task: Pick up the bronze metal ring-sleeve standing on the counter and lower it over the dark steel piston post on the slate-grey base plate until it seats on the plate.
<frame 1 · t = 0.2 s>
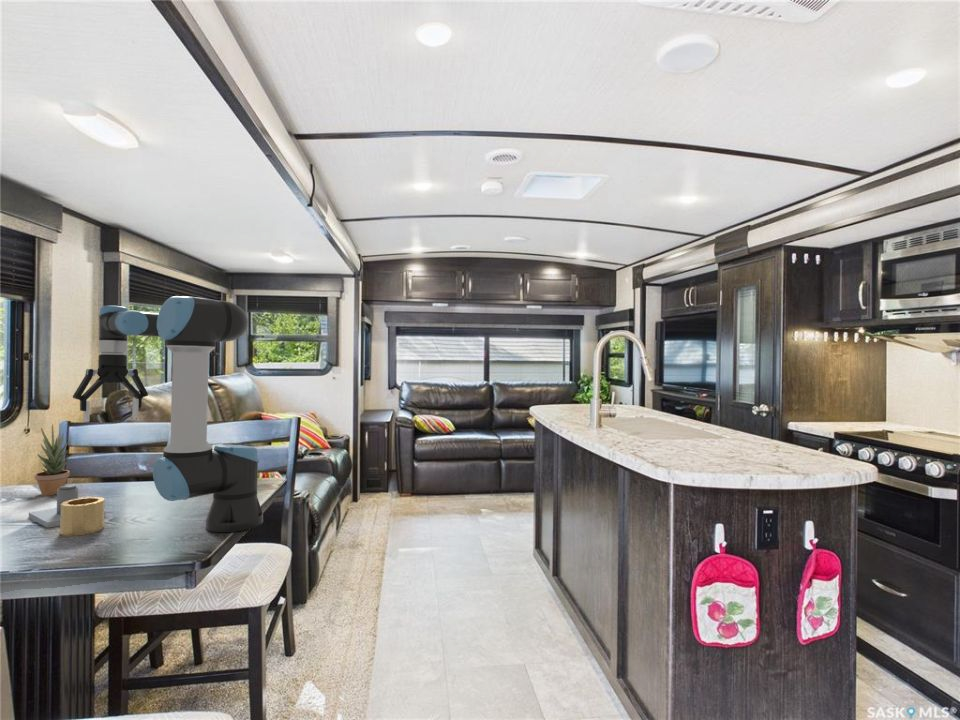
hand: (111, 419, 168), 28 cm above the table, fingers open, 13 cm apart
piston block: (67, 516, 156), on the table
bronze sleeve: (82, 530, 144), on the table
potted plant: (52, 493, 183), on the table
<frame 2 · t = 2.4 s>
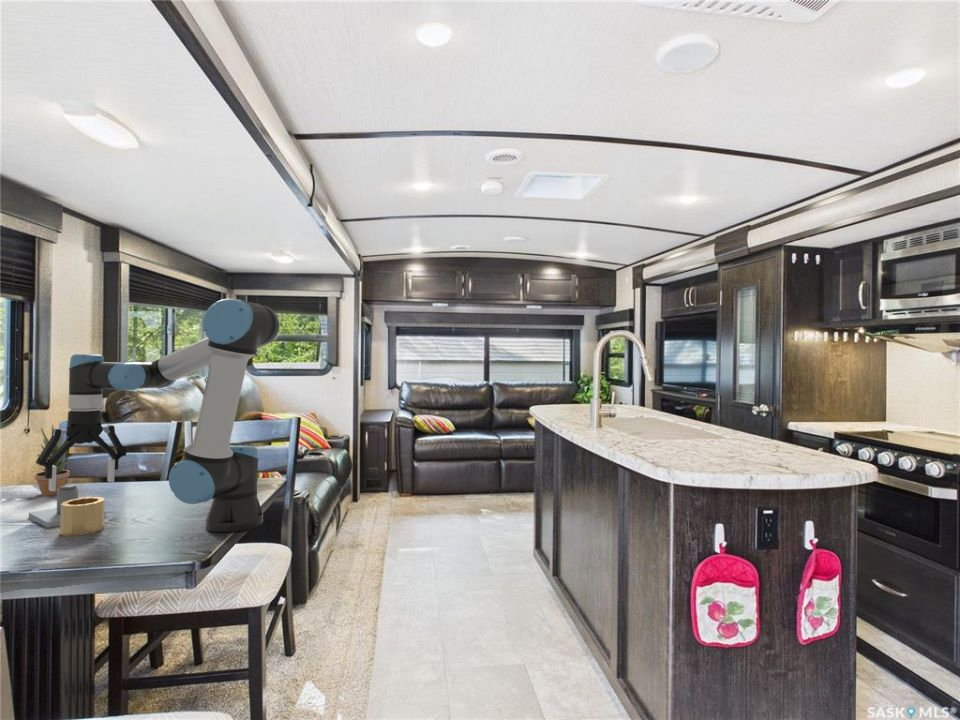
hand: (82, 486, 144), 12 cm above the table, fingers open, 13 cm apart
nothing on the table moved.
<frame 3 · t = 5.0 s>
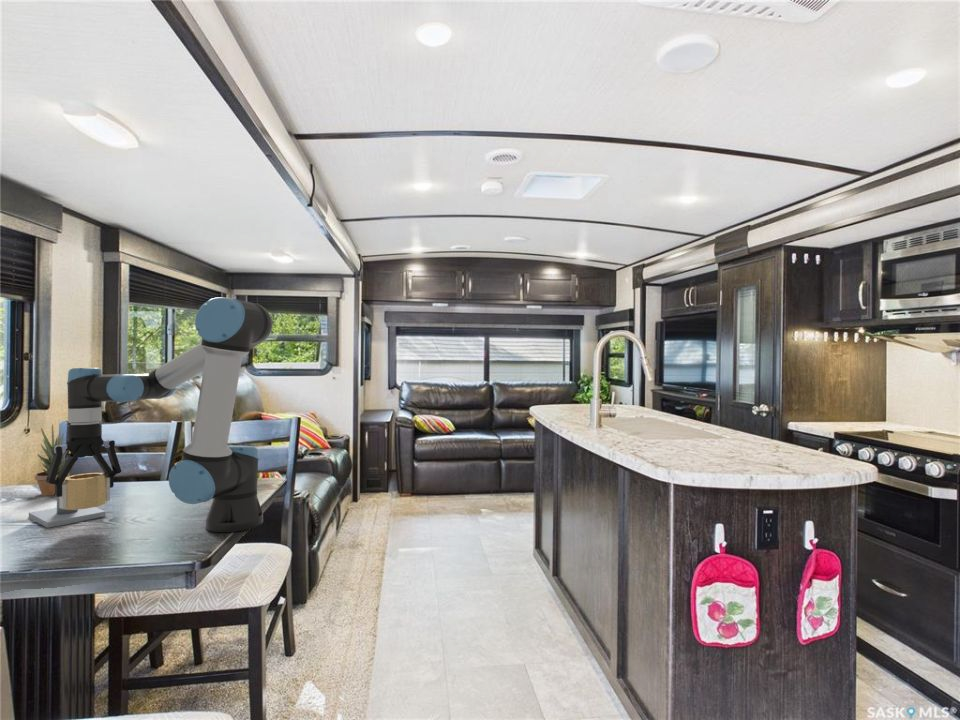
hand: (85, 503, 144), 7 cm above the table, fingers closed on bronze sleeve, 9 cm apart
bronze sleeve: (85, 505, 144), point 7 cm above the table, touching gripper
everything else where it was.
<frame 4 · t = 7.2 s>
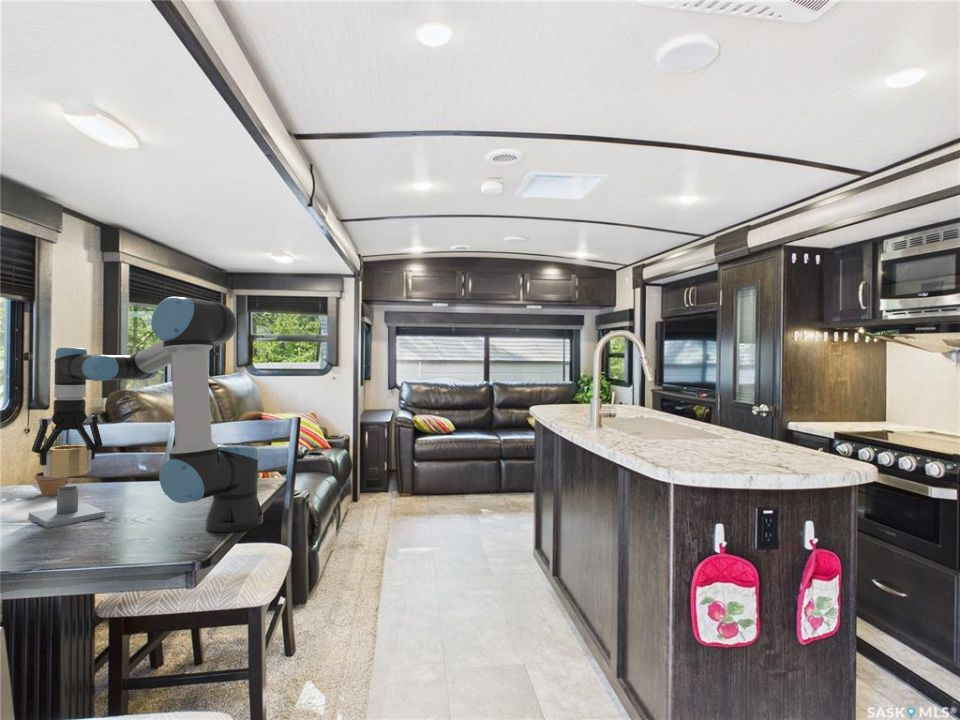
hand: (67, 473, 156), 13 cm above the table, fingers closed on bronze sleeve, 9 cm apart
bronze sleeve: (67, 474, 156), point 13 cm above the table, touching gripper
everything else where it was.
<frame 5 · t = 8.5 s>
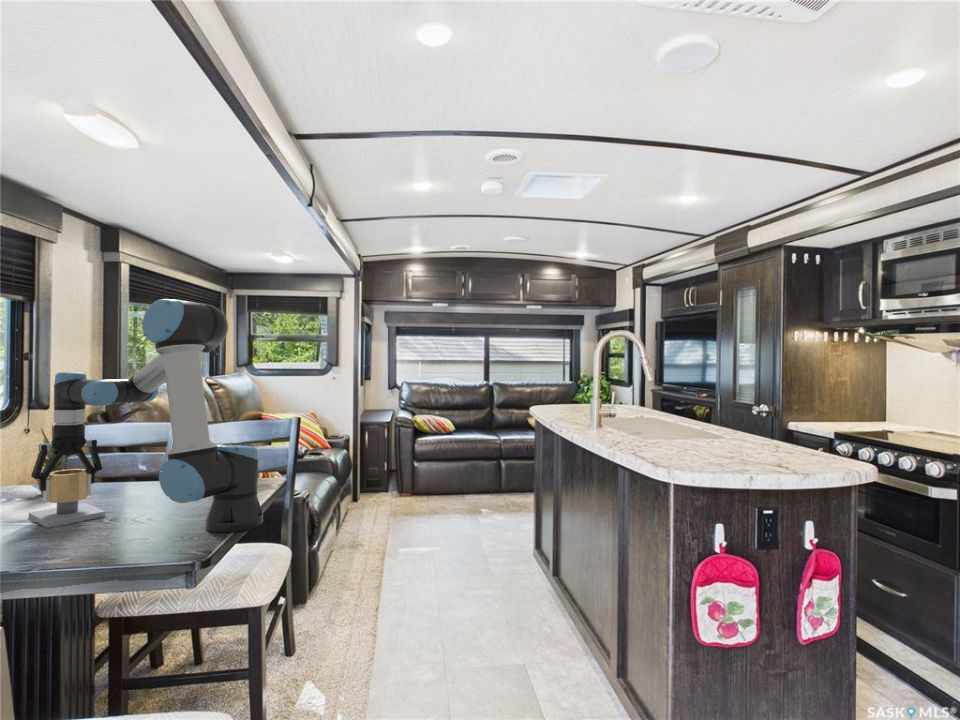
hand: (67, 497, 156), 6 cm above the table, fingers closed on bronze sleeve, 9 cm apart
bronze sleeve: (67, 498, 156), point 5 cm above the table, touching gripper
everything else where it was.
when the fingers open (3 cm above the table, at t = 9.6 s): bronze sleeve stays where it is, resting on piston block.
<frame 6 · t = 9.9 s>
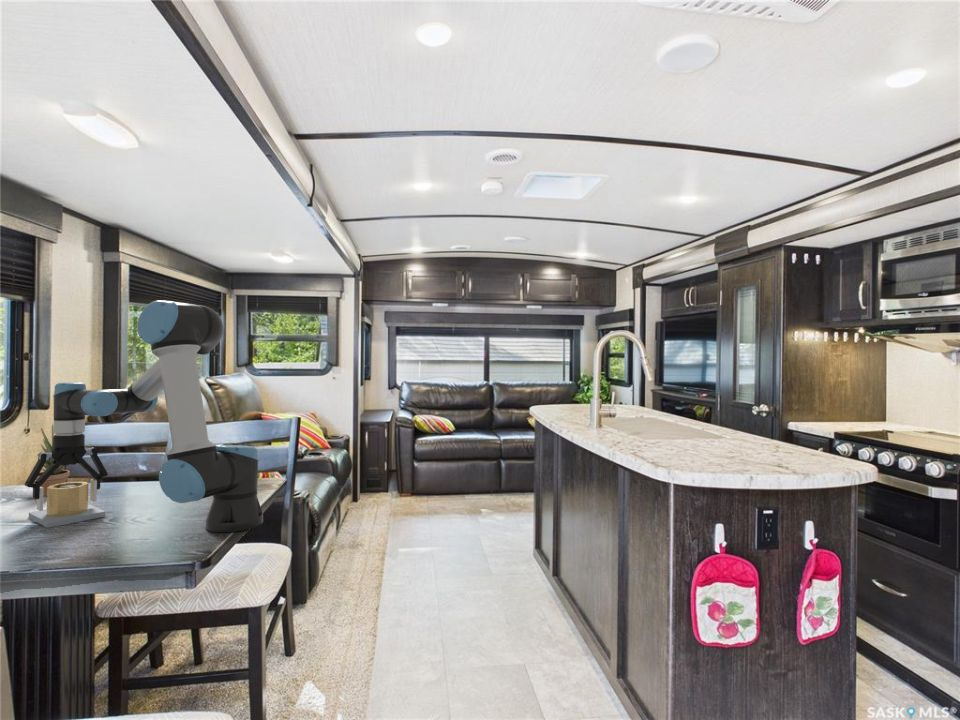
hand: (67, 505, 156), 4 cm above the table, fingers open, 12 cm apart
bronze sleeve: (67, 511, 156), point 1 cm above the table, touching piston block
everything else where it was.
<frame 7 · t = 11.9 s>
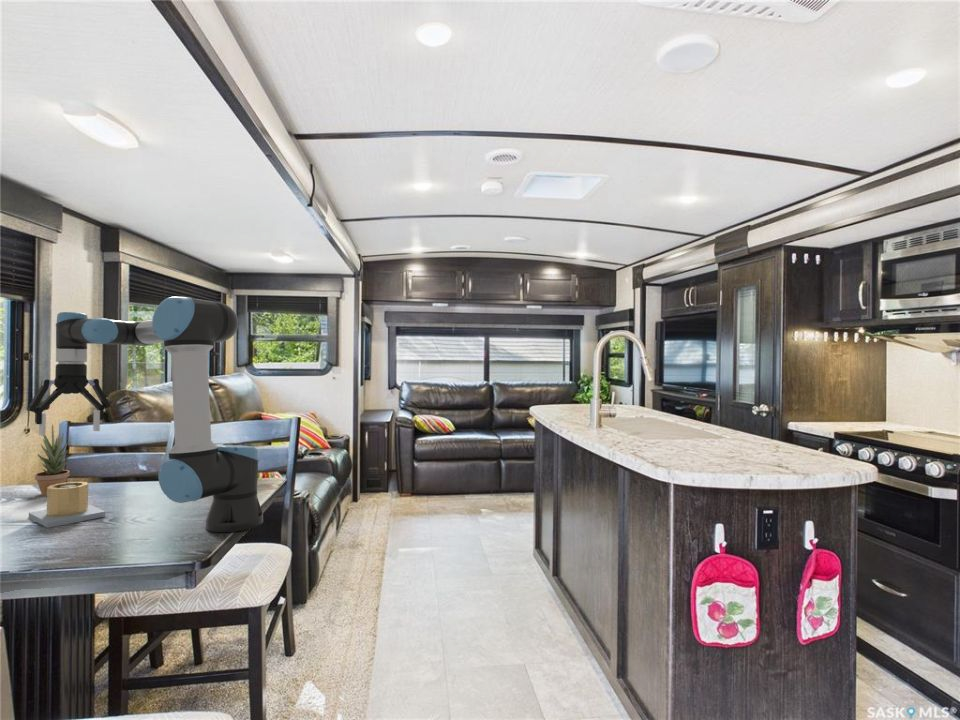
hand: (70, 433, 158), 25 cm above the table, fingers open, 13 cm apart
nothing on the table moved.
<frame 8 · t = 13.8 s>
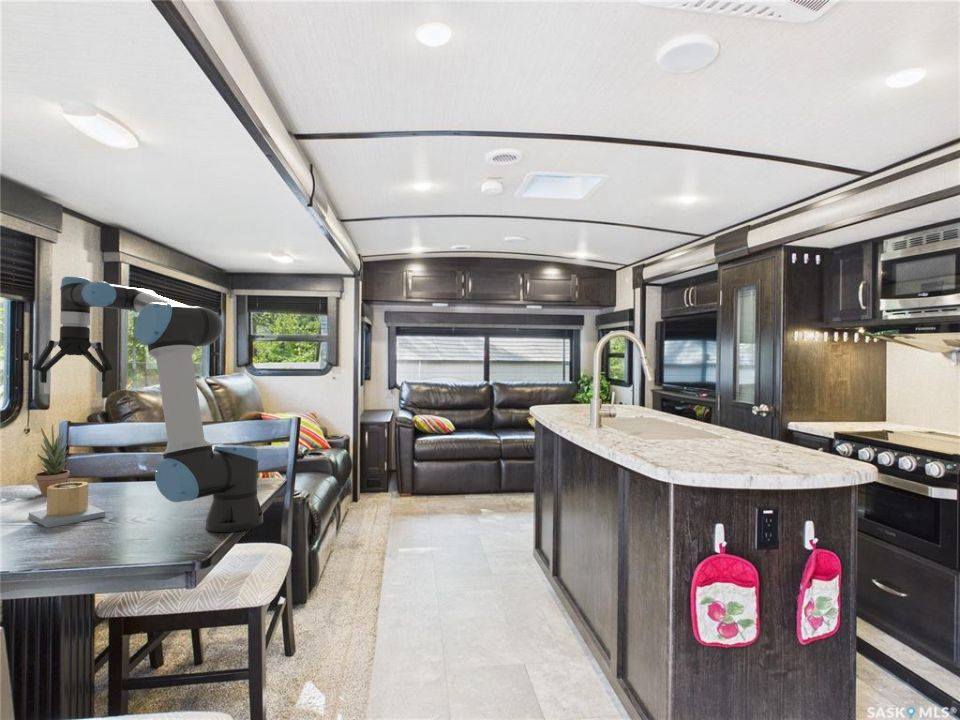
hand: (73, 392, 165), 37 cm above the table, fingers open, 13 cm apart
nothing on the table moved.
at the end: bronze sleeve 0.1 cm off-centre on the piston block, point 1.5 cm above the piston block's base; the gripper is holding nothing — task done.
